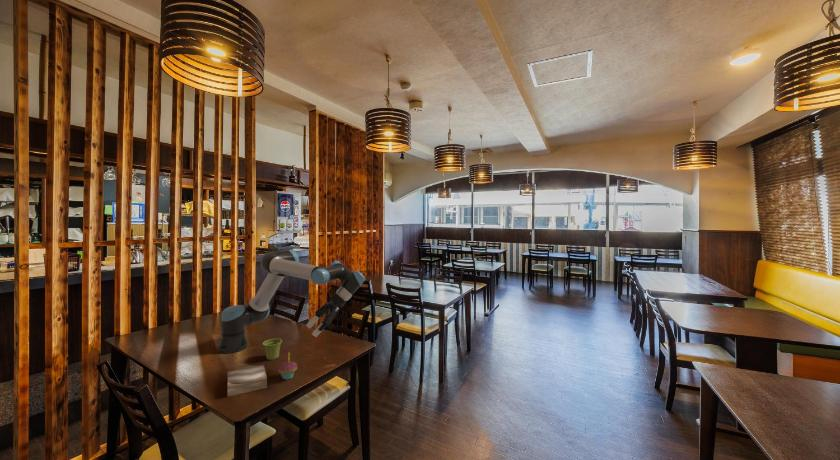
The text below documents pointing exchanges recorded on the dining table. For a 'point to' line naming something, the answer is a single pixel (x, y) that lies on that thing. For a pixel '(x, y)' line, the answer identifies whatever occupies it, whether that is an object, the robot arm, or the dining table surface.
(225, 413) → the dining table surface
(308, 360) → the dining table surface
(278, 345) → the plant pot
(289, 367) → the cupcake
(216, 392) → the dining table surface
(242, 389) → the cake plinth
